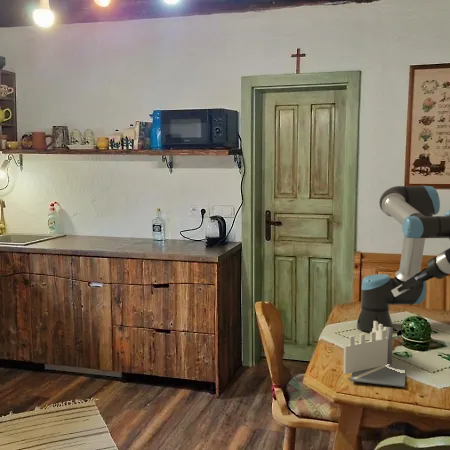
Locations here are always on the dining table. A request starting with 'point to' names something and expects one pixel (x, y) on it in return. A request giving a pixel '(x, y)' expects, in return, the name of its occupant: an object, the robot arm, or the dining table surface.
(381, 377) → the card
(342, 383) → the dining table surface
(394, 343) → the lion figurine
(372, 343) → the panel
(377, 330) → the fixed fence section
